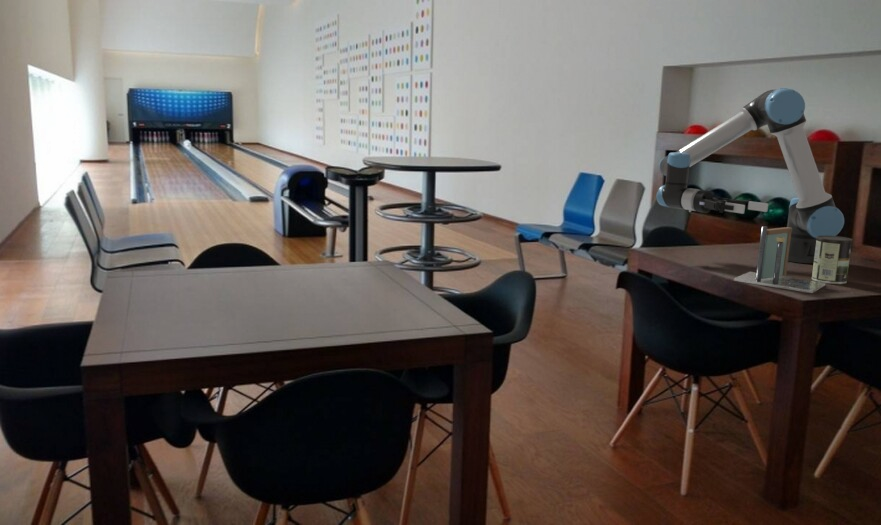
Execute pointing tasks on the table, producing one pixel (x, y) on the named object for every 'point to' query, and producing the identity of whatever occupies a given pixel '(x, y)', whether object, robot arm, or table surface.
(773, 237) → the panel
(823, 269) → the coffee can
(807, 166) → the robot arm
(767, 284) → the gate frame
